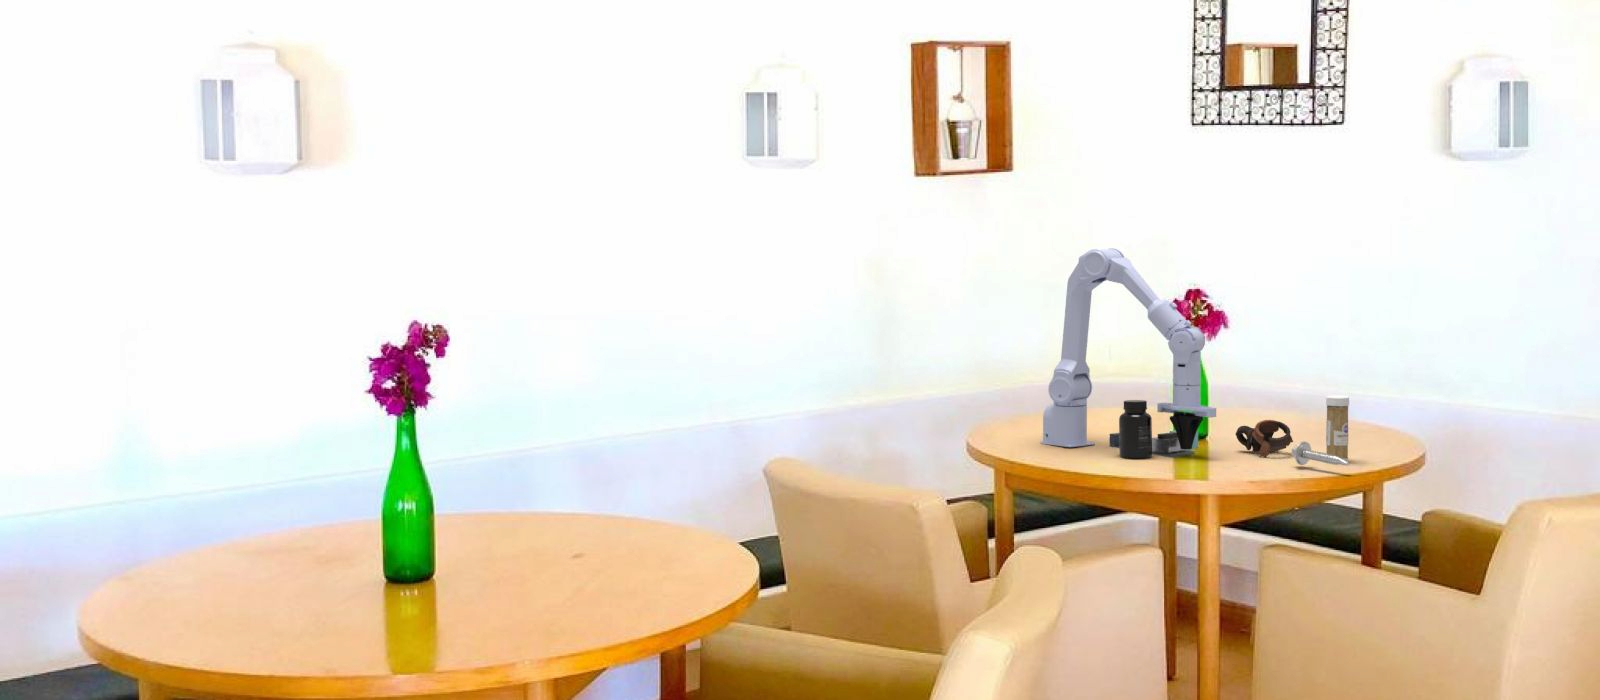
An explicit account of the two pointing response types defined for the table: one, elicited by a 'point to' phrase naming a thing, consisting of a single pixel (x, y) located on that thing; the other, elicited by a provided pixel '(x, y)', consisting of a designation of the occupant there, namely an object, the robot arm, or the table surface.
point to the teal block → (1195, 442)
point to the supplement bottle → (1135, 431)
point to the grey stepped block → (1166, 442)
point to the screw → (1314, 455)
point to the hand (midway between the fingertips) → (1186, 448)
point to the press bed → (1115, 443)
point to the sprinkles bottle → (1337, 425)
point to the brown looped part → (1264, 437)
